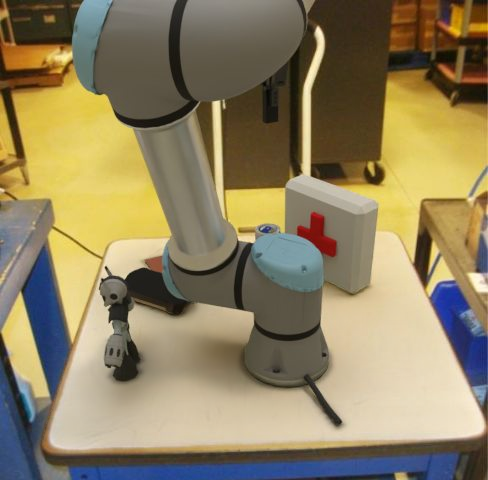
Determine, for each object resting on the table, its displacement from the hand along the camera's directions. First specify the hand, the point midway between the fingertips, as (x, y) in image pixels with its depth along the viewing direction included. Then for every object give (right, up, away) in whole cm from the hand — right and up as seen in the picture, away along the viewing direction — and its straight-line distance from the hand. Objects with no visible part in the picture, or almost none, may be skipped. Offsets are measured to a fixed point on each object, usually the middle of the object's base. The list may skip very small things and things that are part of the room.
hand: (270, 121), depth 121 cm
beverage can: (0, -33, +10) cm, 35 cm away
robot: (-26, -48, -10) cm, 56 cm away
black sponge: (-23, -35, +9) cm, 43 cm away
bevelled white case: (+12, -29, +14) cm, 35 cm away
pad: (-18, -24, +22) cm, 38 cm away
